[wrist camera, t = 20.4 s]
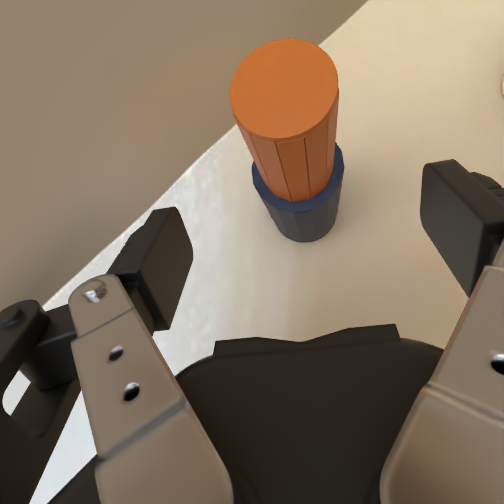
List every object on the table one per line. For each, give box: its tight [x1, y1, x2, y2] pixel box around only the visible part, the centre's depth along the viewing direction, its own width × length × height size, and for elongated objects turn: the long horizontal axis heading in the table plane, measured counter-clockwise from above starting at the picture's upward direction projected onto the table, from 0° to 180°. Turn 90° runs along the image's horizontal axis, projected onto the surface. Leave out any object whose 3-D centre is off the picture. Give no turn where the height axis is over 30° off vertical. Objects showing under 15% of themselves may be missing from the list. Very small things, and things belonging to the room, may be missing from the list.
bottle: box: [252, 142, 344, 242], centre depth 29 cm, size 7×7×16 cm
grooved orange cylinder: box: [230, 39, 339, 202], centre depth 20 cm, size 5×5×10 cm
